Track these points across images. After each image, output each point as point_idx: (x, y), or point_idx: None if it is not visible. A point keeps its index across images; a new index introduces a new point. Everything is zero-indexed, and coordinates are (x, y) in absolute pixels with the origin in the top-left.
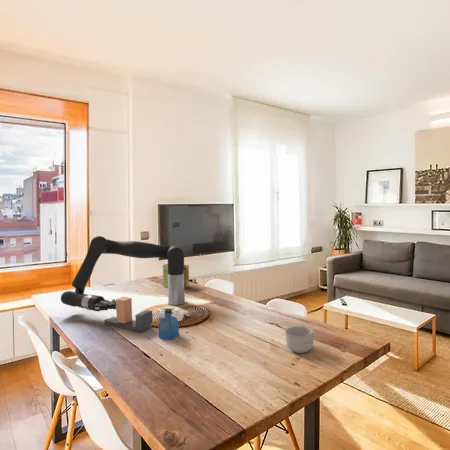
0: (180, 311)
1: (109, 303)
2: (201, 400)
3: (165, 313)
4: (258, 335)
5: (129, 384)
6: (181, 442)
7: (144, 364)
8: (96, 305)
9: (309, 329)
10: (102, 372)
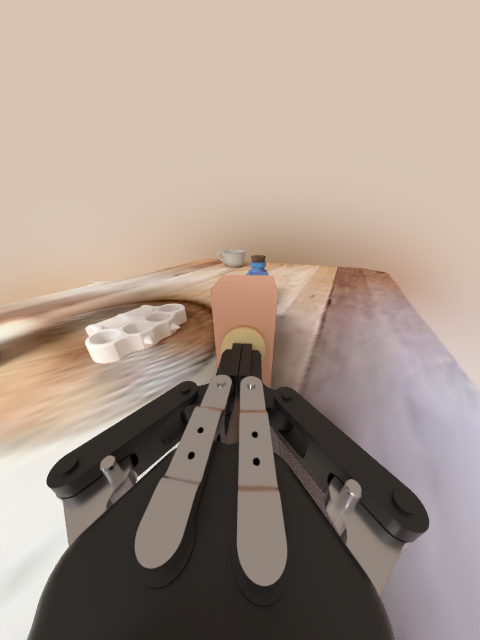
0: (133, 314)
1: (223, 419)
2: (339, 273)
3: (265, 262)
4: (214, 275)
5: (384, 292)
6: (376, 271)
7: (347, 296)
8: (400, 492)
9: (227, 251)
10: (415, 310)
